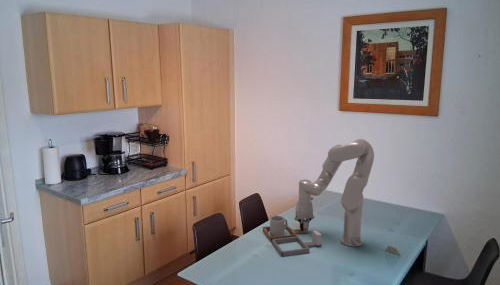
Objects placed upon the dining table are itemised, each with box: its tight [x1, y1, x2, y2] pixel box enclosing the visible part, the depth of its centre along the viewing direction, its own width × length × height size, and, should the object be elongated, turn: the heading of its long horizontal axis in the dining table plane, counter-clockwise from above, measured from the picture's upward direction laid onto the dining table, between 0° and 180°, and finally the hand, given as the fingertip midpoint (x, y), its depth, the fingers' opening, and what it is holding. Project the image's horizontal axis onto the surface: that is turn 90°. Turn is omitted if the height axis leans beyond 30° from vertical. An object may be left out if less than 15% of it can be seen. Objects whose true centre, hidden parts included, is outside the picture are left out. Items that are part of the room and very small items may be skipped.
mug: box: [269, 215, 288, 237], centre depth 223 cm, size 12×8×11 cm
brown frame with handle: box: [262, 219, 309, 243], centre depth 225 cm, size 16×26×7 cm, turn 105°
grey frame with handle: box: [271, 230, 322, 257], centre depth 208 cm, size 16×26×7 cm, turn 105°
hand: (304, 228), depth 228 cm, fingers closed on brown frame with handle, 2 cm apart
